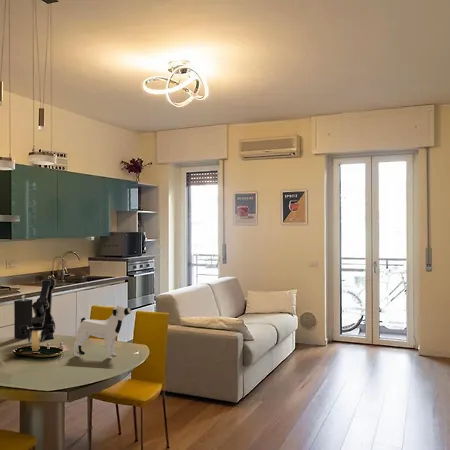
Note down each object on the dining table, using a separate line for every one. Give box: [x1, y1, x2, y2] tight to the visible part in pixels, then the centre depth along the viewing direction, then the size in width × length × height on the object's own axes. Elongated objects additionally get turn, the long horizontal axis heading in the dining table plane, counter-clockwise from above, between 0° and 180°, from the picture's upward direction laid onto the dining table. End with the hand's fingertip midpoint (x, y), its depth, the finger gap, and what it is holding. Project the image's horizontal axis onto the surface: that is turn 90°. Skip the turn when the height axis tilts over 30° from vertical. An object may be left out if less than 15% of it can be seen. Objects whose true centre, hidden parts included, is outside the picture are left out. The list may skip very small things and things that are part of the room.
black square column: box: [13, 294, 33, 340], centre depth 302 cm, size 8×8×28 cm
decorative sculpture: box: [73, 305, 132, 360], centre depth 259 cm, size 10×32×30 cm, turn 78°
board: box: [33, 341, 70, 354], centre depth 269 cm, size 26×14×4 cm, turn 112°
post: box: [31, 331, 41, 351], centre depth 267 cm, size 4×4×11 cm
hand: (35, 341), depth 266 cm, fingers open, 6 cm apart
